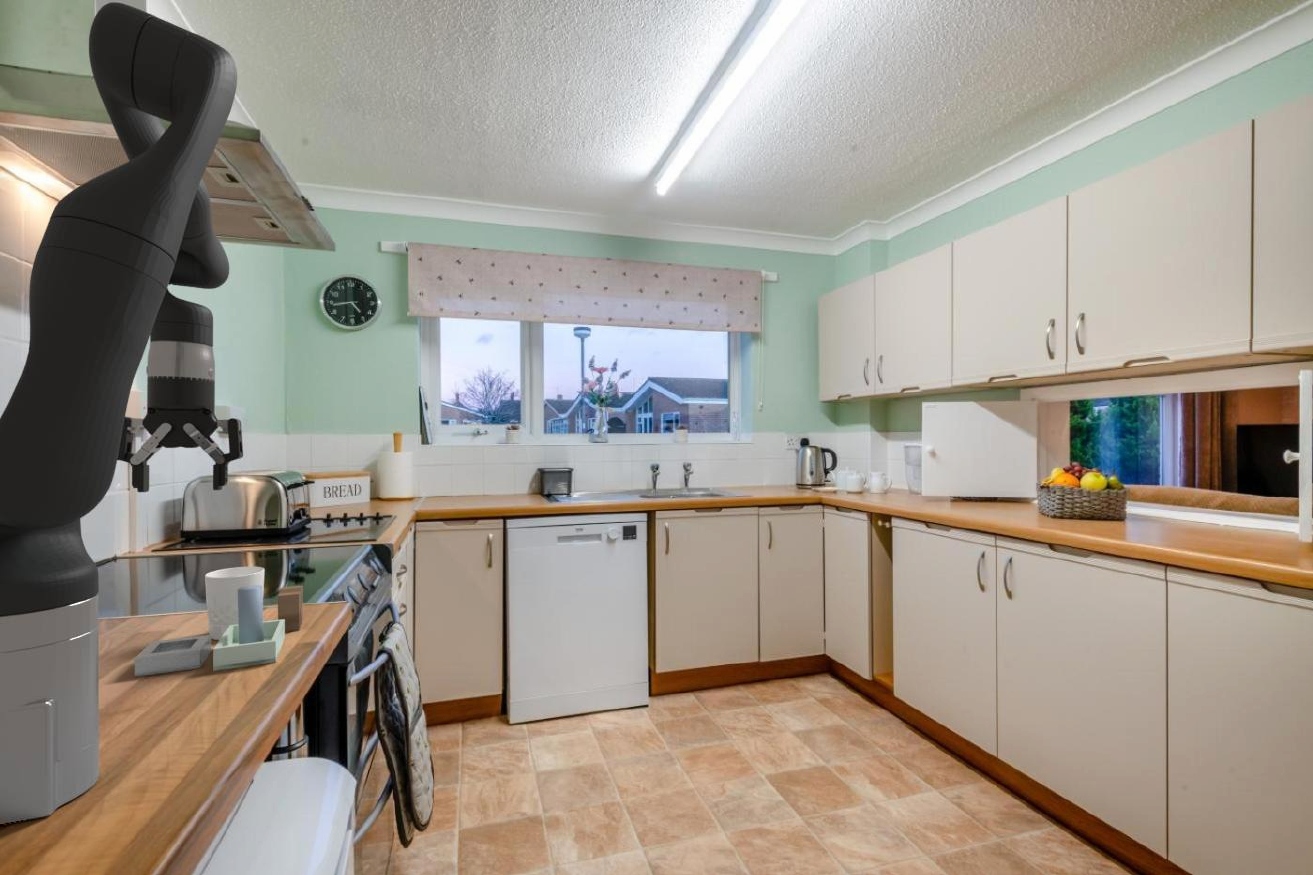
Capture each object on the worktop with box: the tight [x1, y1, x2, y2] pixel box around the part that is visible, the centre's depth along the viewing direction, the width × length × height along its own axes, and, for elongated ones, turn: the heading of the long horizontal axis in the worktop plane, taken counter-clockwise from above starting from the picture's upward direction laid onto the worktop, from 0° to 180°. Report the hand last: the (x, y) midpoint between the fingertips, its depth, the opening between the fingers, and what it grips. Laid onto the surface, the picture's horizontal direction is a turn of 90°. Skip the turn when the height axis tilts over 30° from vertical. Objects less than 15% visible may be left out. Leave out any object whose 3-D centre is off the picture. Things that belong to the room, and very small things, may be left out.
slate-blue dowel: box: [238, 585, 264, 644], centre depth 88 cm, size 3×3×9 cm
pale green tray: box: [212, 619, 286, 672], centre depth 88 cm, size 11×7×3 cm, turn 26°
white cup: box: [204, 566, 265, 641], centre depth 97 cm, size 8×8×10 cm
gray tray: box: [134, 634, 212, 678], centre depth 84 cm, size 7×7×2 cm
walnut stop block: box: [277, 585, 304, 633], centre depth 100 cm, size 6×3×6 cm, turn 26°
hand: (181, 490), depth 85 cm, fingers open, 8 cm apart
